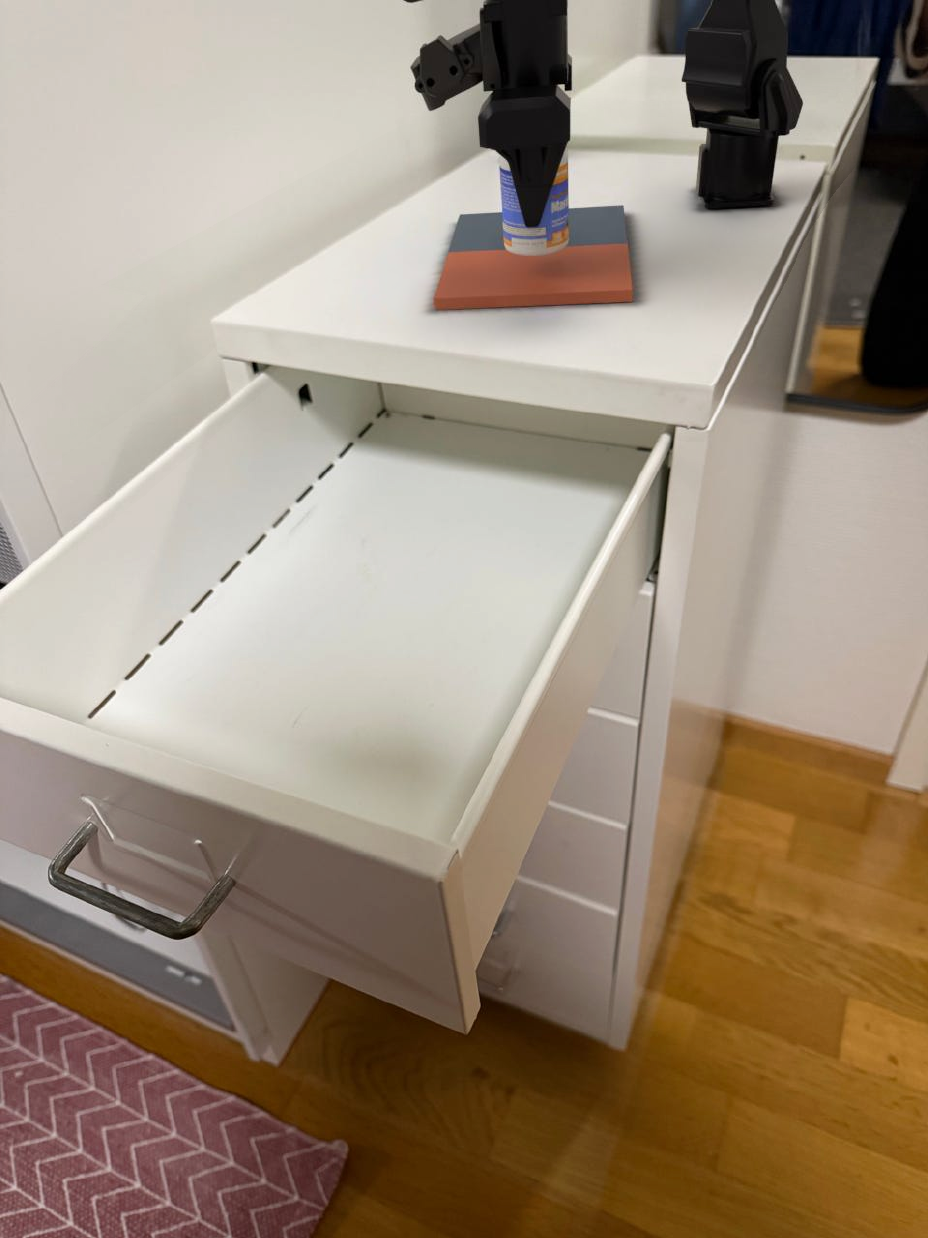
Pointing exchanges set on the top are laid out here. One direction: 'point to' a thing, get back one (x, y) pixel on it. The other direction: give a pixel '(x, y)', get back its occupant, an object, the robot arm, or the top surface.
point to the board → (537, 264)
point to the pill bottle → (553, 222)
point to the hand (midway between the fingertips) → (533, 214)
